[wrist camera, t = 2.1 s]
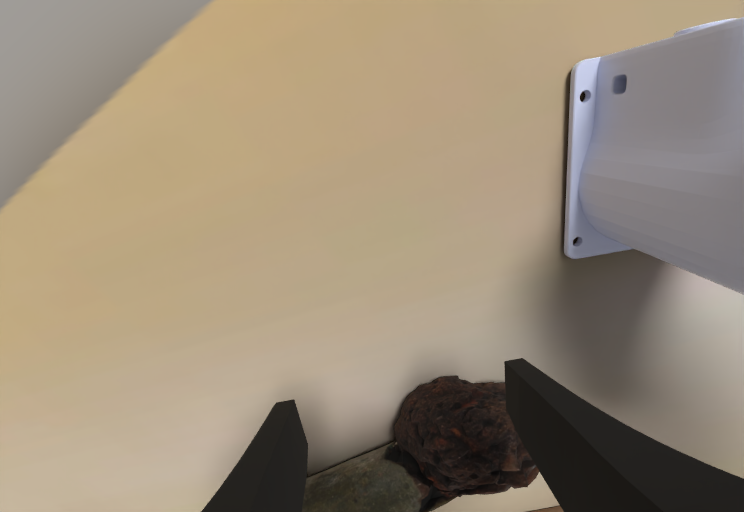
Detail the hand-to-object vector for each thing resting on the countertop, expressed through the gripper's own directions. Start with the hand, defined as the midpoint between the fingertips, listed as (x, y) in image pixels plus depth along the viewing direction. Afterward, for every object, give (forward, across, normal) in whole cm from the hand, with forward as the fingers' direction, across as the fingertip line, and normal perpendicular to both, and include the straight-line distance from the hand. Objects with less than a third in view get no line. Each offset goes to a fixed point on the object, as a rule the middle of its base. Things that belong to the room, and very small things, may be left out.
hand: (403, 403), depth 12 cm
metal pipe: (+8, 0, +10) cm, 13 cm away
